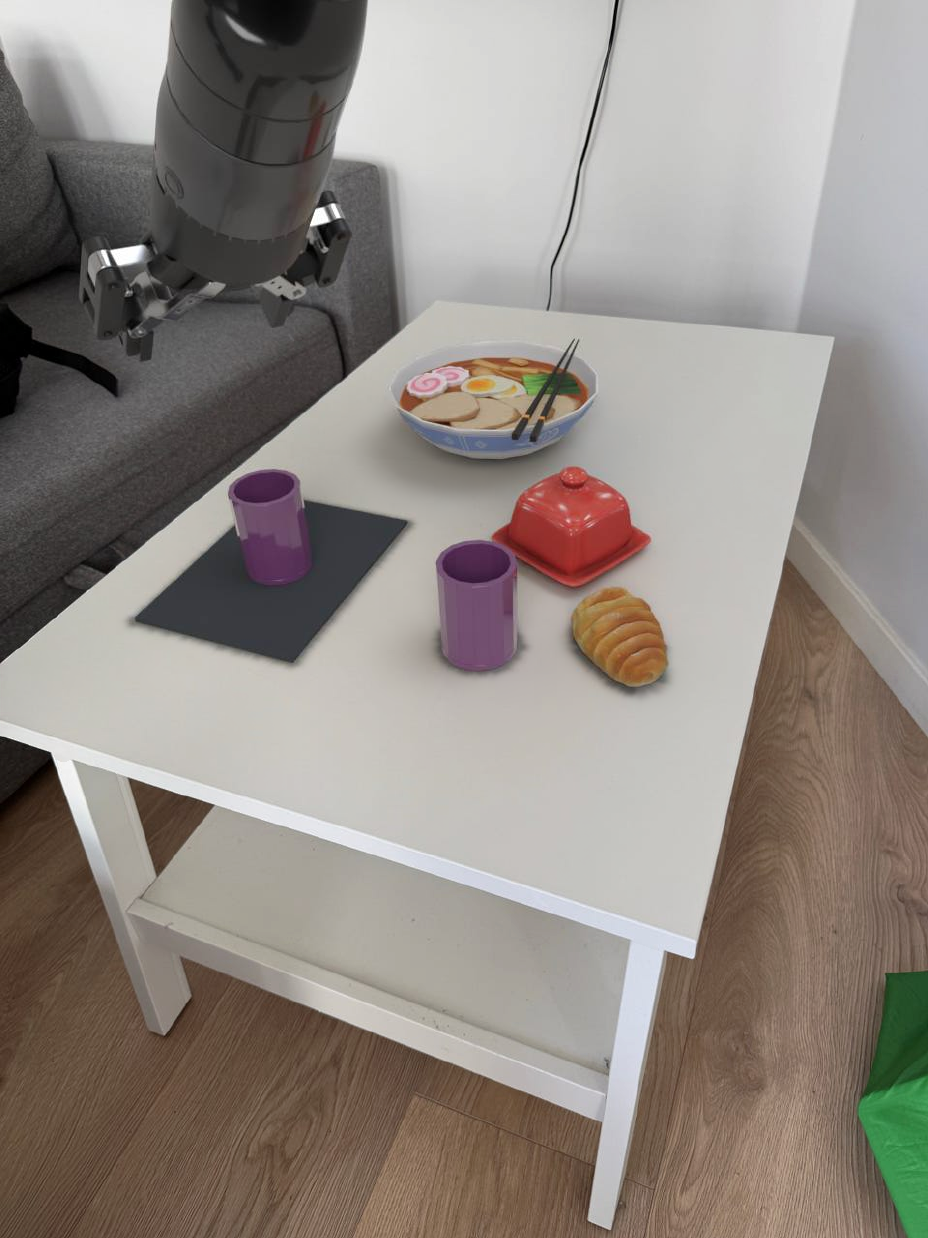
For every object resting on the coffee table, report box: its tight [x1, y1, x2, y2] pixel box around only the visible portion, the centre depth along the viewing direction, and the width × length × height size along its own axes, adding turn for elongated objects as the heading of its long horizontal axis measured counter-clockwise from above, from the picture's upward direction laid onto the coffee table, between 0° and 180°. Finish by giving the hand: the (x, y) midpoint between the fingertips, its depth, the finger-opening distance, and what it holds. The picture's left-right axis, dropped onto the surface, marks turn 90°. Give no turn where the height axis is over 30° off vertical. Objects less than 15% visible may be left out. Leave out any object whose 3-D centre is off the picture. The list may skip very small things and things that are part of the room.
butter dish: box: [490, 465, 652, 588], centre depth 83 cm, size 12×12×8 cm
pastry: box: [570, 586, 669, 688], centre depth 73 cm, size 9×7×4 cm
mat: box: [134, 499, 408, 663], centre depth 85 cm, size 22×16×1 cm
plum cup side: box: [435, 539, 518, 672], centre depth 73 cm, size 6×6×8 cm
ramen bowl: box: [387, 338, 600, 460], centre depth 100 cm, size 25×23×8 cm
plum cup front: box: [227, 468, 313, 586], centre depth 82 cm, size 6×6×8 cm
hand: (205, 330), depth 56 cm, fingers open, 8 cm apart
